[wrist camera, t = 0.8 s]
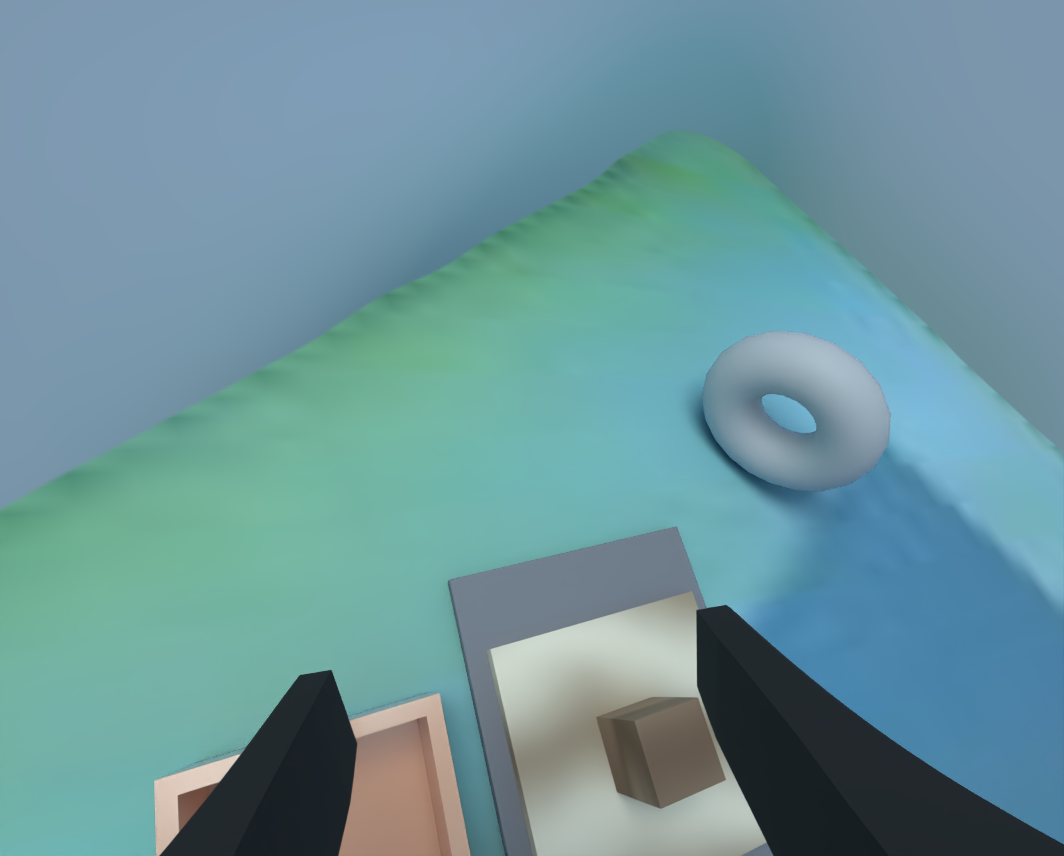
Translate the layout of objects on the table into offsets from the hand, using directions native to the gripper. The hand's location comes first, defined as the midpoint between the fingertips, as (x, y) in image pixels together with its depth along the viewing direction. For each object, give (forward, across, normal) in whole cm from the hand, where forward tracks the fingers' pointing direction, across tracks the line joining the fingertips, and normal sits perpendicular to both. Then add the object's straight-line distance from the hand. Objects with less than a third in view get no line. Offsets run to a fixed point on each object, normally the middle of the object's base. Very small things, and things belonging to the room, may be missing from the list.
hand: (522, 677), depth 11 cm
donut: (+23, -14, +8) cm, 28 cm away
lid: (+10, -4, +15) cm, 18 cm away
